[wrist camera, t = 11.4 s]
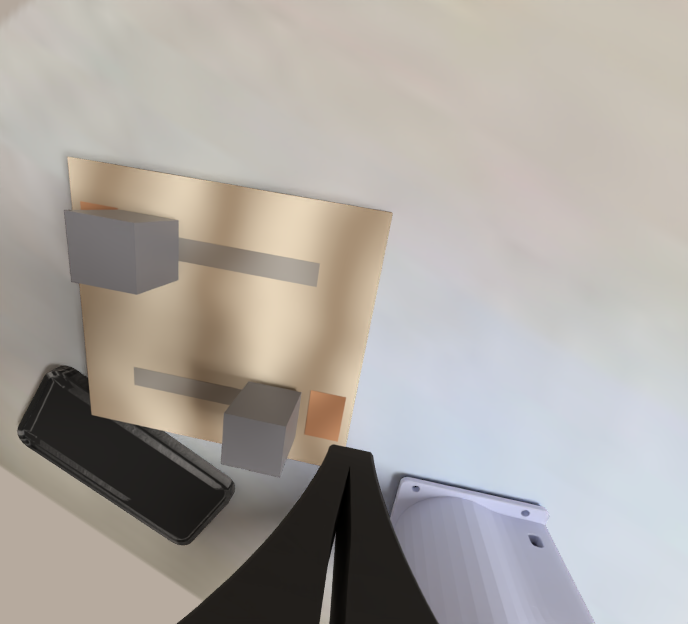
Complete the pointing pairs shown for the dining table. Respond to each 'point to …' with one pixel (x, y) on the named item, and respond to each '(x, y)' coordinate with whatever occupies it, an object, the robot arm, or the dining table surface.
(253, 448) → the switch tab
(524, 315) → the dining table surface
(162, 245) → the switch tab
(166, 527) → the phone
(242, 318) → the switch board
